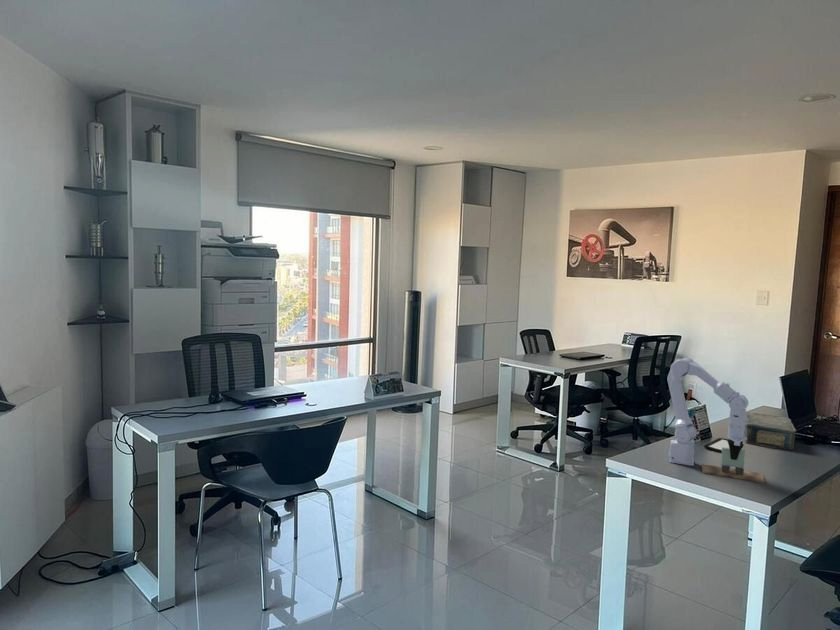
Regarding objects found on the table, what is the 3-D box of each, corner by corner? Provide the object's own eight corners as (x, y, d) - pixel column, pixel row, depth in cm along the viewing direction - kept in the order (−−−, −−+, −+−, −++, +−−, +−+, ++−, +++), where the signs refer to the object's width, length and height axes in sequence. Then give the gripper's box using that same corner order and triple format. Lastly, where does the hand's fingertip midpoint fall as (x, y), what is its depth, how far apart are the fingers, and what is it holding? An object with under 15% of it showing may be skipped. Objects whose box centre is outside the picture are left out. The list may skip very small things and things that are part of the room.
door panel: (721, 465, 244) (722, 448, 243) (721, 464, 245) (722, 447, 245) (743, 468, 241) (744, 451, 240) (743, 467, 242) (744, 450, 242)
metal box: (743, 444, 291) (745, 423, 290) (742, 429, 320) (743, 410, 319) (795, 452, 281) (797, 431, 281) (788, 436, 310) (790, 417, 310)
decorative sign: (753, 450, 283) (719, 440, 294) (753, 446, 283) (720, 437, 293) (737, 459, 267) (702, 449, 278) (738, 455, 267) (703, 445, 277)
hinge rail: (702, 472, 243) (703, 464, 243) (701, 465, 252) (702, 457, 252) (764, 483, 235) (765, 474, 234) (761, 475, 244) (762, 467, 243)
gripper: (750, 431, 234) (746, 465, 235) (745, 423, 247) (742, 455, 248) (729, 428, 236) (726, 462, 237) (726, 420, 250) (723, 452, 251)
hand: (733, 458), depth 243 cm, fingers closed on door panel, 2 cm apart
